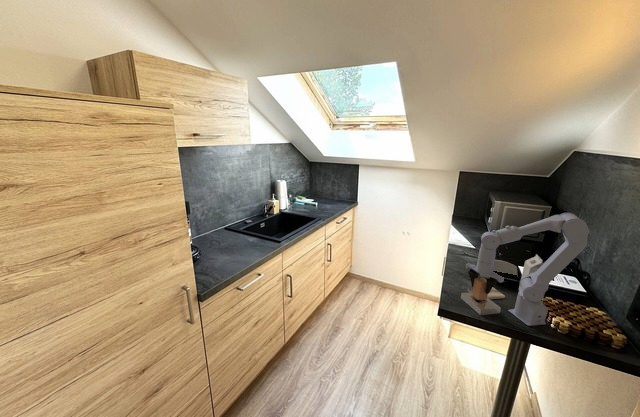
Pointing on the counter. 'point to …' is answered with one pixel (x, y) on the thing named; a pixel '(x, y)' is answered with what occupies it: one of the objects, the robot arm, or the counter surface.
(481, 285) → the peg
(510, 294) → the counter surface
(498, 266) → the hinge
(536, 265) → the milk carton
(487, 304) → the socket block
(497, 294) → the board
